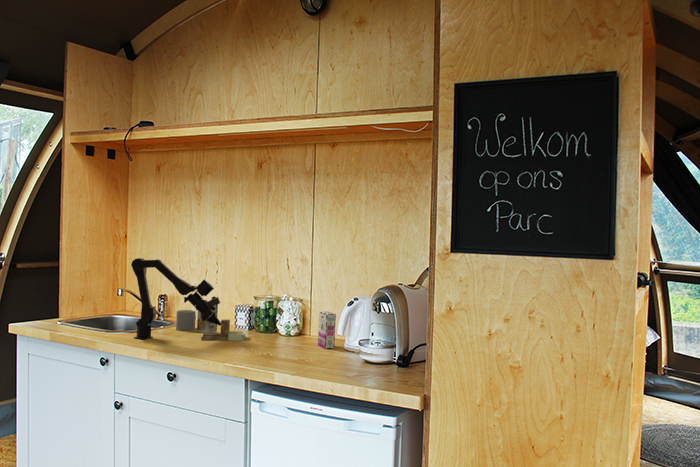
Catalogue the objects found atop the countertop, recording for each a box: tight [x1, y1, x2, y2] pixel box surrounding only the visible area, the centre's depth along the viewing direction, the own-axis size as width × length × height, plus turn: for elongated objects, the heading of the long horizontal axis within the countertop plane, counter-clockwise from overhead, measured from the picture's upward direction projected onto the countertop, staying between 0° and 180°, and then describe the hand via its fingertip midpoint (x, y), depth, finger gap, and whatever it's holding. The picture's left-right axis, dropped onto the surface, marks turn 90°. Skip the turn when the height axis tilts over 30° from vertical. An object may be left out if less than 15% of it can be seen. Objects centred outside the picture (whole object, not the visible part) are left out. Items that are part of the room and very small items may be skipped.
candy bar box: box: [317, 311, 337, 350], centre depth 253 cm, size 11×5×16 cm, turn 22°
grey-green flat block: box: [227, 330, 246, 341], centre depth 266 cm, size 8×9×3 cm
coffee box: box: [196, 304, 219, 334], centre depth 282 cm, size 9×6×16 cm
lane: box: [200, 333, 229, 341], centre depth 264 cm, size 13×9×2 cm
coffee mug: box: [175, 309, 197, 332], centre depth 290 cm, size 13×10×10 cm
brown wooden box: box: [219, 319, 231, 337], centre depth 265 cm, size 4×6×9 cm
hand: (220, 325), depth 265 cm, fingers closed, pressing on brown wooden box
